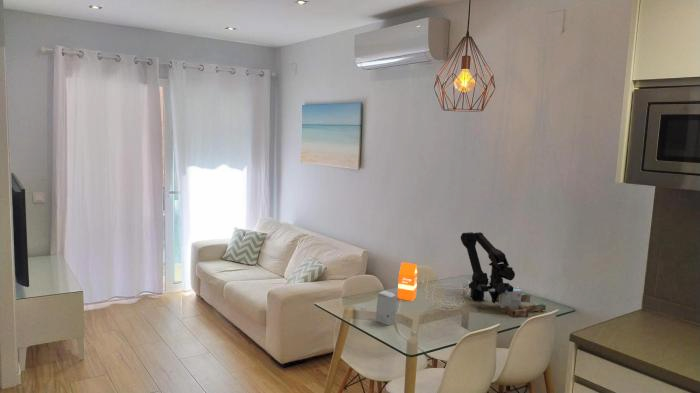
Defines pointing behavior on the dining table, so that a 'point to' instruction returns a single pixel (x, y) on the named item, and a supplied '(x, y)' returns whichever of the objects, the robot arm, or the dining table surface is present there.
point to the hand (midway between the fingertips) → (493, 302)
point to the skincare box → (386, 307)
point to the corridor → (524, 307)
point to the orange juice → (407, 281)
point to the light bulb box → (511, 298)
